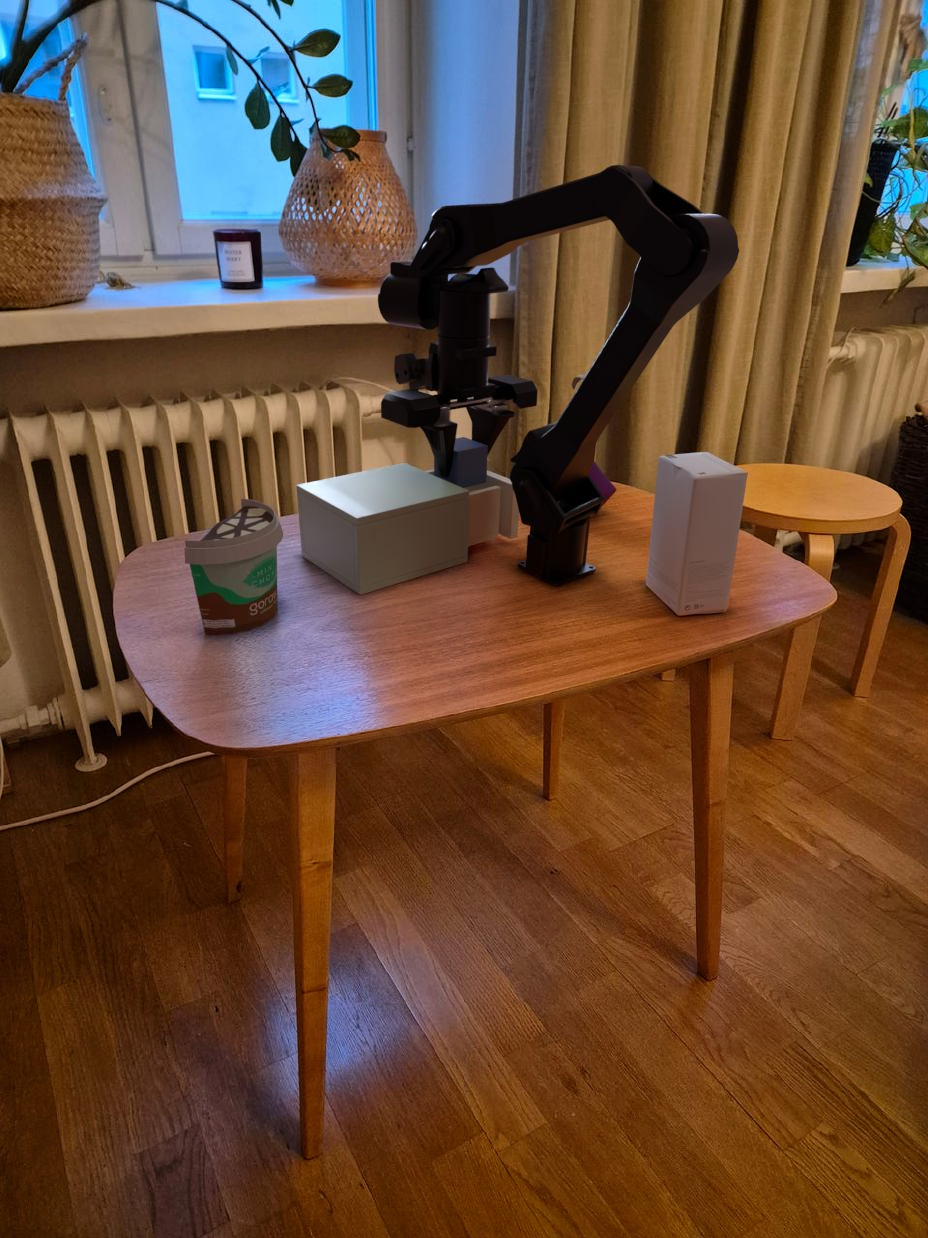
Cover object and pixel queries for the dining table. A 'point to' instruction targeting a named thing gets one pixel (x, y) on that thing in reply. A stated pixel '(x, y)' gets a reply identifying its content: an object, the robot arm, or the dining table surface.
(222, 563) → the food container
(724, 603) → the cosmetic box
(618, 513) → the dining table surface
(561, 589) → the dining table surface
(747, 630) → the dining table surface
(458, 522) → the grey storage box
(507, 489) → the tray
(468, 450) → the block
